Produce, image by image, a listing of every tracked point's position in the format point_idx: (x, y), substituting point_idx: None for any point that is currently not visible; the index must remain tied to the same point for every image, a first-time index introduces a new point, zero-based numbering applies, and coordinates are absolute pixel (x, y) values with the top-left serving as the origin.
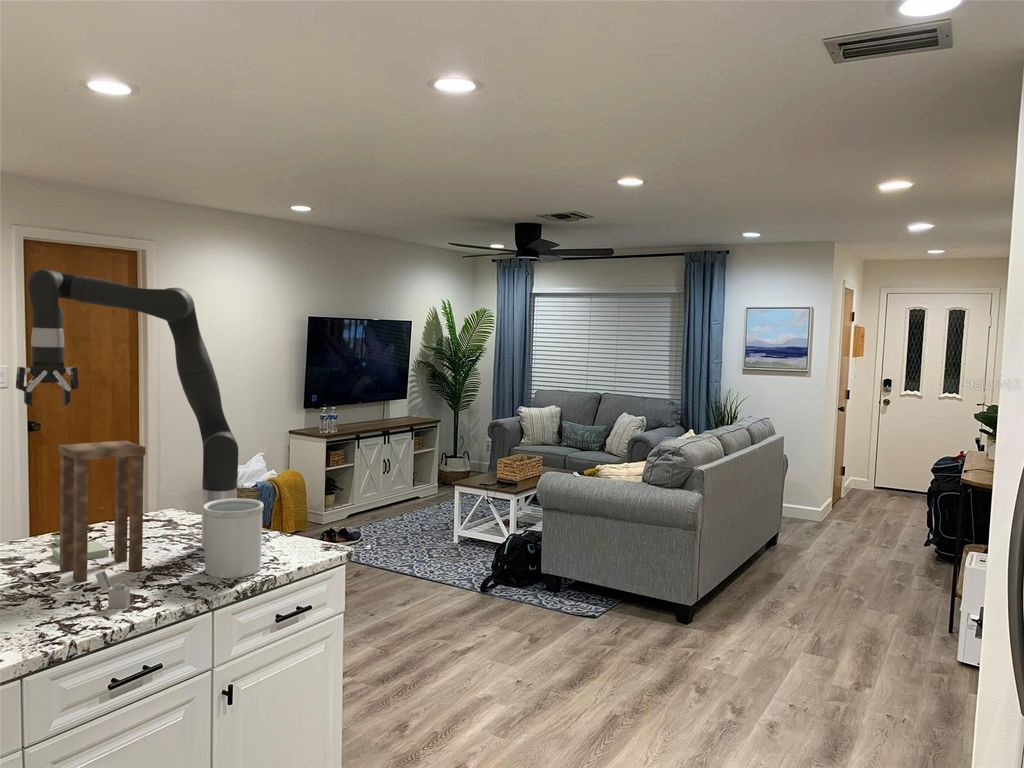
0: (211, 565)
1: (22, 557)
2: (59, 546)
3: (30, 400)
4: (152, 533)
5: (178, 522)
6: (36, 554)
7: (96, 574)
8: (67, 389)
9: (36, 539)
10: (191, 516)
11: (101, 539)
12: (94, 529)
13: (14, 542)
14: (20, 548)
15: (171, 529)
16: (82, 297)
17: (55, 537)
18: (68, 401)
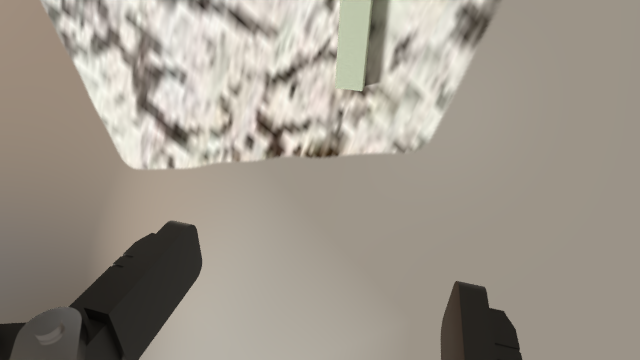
0: None
1: (457, 26)
2: (367, 55)
3: (479, 324)
4: (188, 31)
5: (131, 79)
6: (425, 30)
7: None
8: (65, 329)
9: (375, 142)
10: (104, 105)
11: (282, 57)
12: (270, 137)
13: (413, 149)
14: (426, 100)
15: (151, 36)
16: None
17: (362, 86)
18: (150, 243)
